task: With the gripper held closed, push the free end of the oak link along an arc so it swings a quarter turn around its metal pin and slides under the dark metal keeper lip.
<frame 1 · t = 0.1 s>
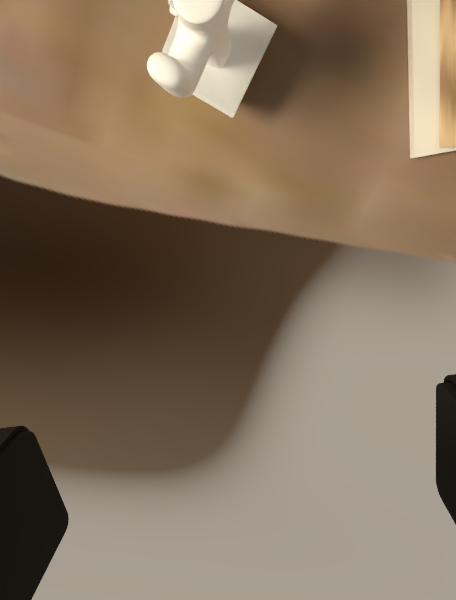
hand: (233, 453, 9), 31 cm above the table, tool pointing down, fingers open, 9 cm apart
figurine: (218, 61, 33), on the table
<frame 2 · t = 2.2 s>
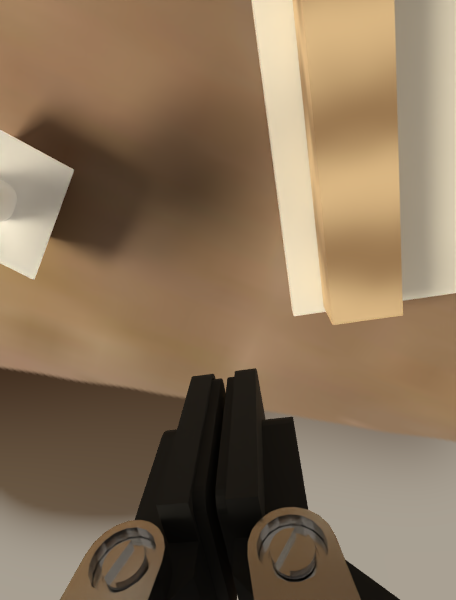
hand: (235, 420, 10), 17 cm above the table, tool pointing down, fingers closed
oak link: (350, 79, 18), point 4 cm above the table, hinge at 0.0°
figurine: (30, 192, 25), on the table
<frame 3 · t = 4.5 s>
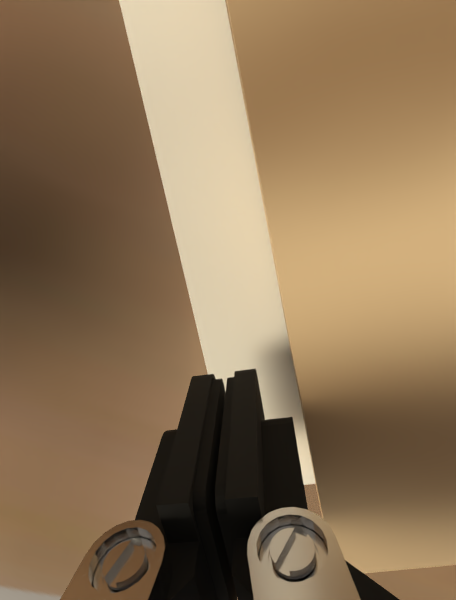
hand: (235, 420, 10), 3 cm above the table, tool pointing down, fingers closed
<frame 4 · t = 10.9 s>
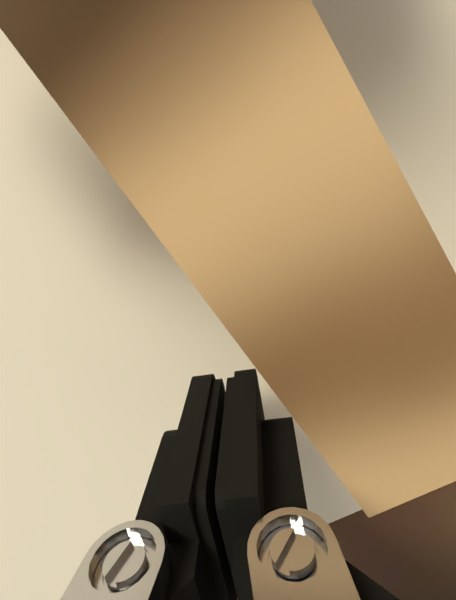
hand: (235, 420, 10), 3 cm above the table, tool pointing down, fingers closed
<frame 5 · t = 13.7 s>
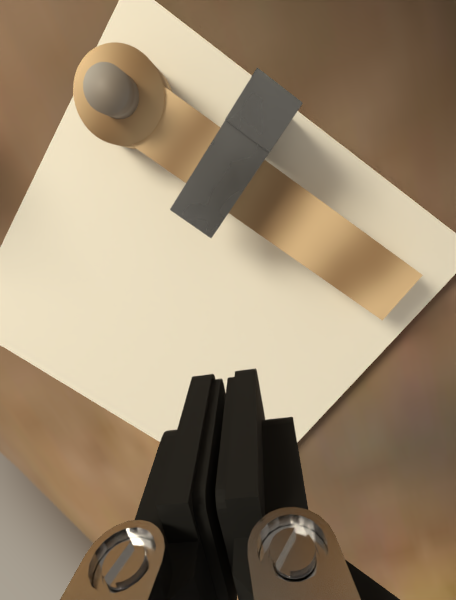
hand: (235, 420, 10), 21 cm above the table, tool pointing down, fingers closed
keeper: (261, 127, 27), resting on pivot board
pivot board: (201, 286, 31), on the table
oak link: (250, 190, 25), point 4 cm above the table, hinge at 90.5°
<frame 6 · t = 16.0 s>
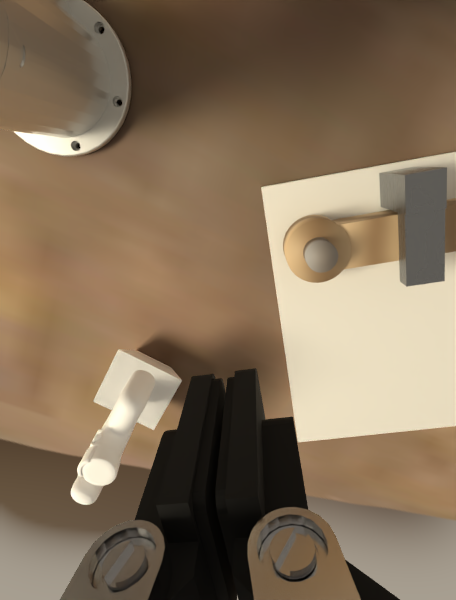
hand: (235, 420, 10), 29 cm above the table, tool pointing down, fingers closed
keeper: (393, 186, 35), resting on pivot board
pivot board: (427, 305, 39), on the table
oak link: (433, 231, 32), point 4 cm above the table, hinge at 90.5°
figurine: (146, 372, 44), on the table
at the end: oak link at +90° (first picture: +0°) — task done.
